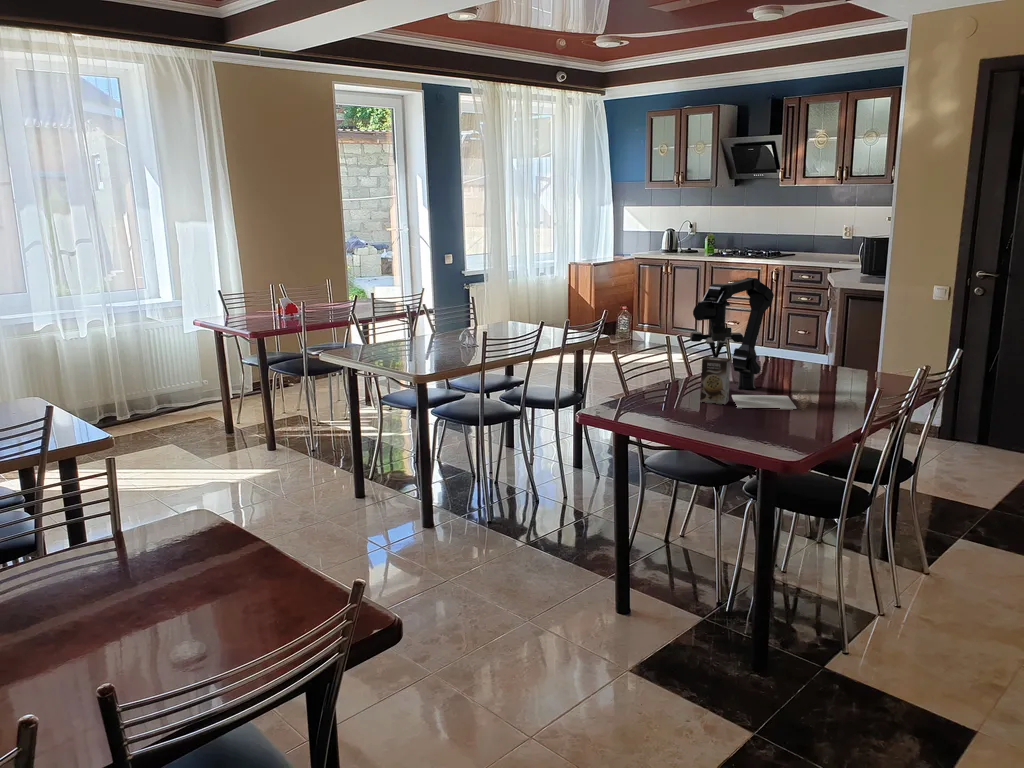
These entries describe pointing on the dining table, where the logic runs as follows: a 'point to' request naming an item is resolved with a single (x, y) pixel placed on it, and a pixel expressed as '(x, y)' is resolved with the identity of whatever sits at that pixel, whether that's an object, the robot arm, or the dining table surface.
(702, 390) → the cookie box
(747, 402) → the mat
